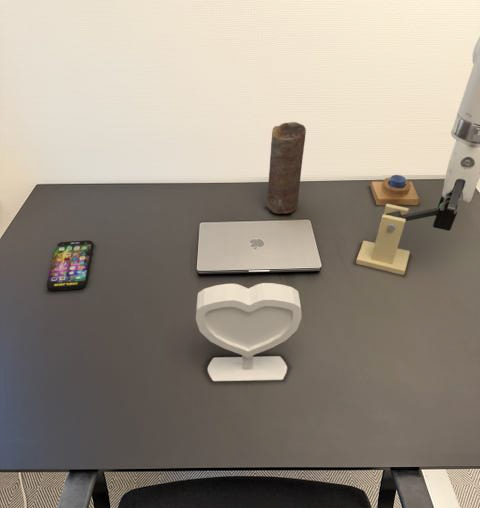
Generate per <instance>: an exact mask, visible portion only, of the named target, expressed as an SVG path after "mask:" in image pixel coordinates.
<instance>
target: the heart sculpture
mask: <svg viewBox="0 0 480 508" xmlns="http://www.w3.org/2000/svg"><path fill="white" fill-rule="evenodd" d="M195 307H196V308H195V321H196V324H197V328H198V331H199V332H200V334H202V335H203V336H204V337H205V338H206V339H207V340H208V341H209V342H210V343H212V344H214V345H217V346H218V347H220V348H222V349H224V350H227V351H230V352H232V353H235V354H238V355H241V356H227V357H226V356H224V357H213V358H212V359H211V361H209V364H208V366H207V373H208V375H209V377H210V378H211V380H212V381H213V382H234V381H235V382H237V381H238V382H239V381H240V382H241V381H283V380H284V378H285V376H286V374H287V373H288V372H287V371H288V366H287V364H286V362H285V360H284V359H283V358H282V357H281V356H280V355H274V356H272V355H270V356H269V355H267V356H255V355H257V354H260V353H263V352H265V351H267V350H271V349H272V348H275V347H276V346H278V345H279V344H282V343H284V342H286V341H287V340H289V338H291V337H292V335H293V334H295V333H296V331H298V329H299V326H300V324H301V321H302V319H303V316H302V315H303V314H302V306H301V300H300V293H299V291H298V290H297V289H295V288H294V287H292V286H289V285H285V284H280V283H274V282H261V283H258V284H255V285H253V286H251V287H249V288H248V287H245V286H243V285H241V284H238V283H224V284H223V283H222V284H217V285H213V286H209V287H205V288H203V289H202V290H200V291H199V292H197V298H196V306H195Z"/></svg>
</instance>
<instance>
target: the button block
mask: <svg viewBox="0 0 480 508" xmlns="http://www.w3.org/2000/svg"><path fill="white" fill-rule="evenodd" d="M390 178H391V176H389V177H386V178H384V179H383V181H371V184H370V190H371V193H372V196H373V198H374V201H375V204H376V206H386V204H391V205H396V206H418V205H419V202H420V197H419V195H418V193H417V191H416V189H415V186H414V184H413V182H412V181H409V180H408V179H406V181H405V185H404V187H403V188H394V187H391V186H390V185H389V182H390Z"/></svg>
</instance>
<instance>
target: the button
mask: <svg viewBox="0 0 480 508" xmlns="http://www.w3.org/2000/svg"><path fill="white" fill-rule="evenodd" d="M390 177H391V178H390V182H389V185H390V186H391V187H394V188H403V187H404V185H405V181H406V180H407V179H406V177H405V176H403V175H401V174H393V175H391V176H390Z"/></svg>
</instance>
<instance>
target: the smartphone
mask: <svg viewBox="0 0 480 508" xmlns="http://www.w3.org/2000/svg"><path fill="white" fill-rule="evenodd" d="M93 249H94V243H93V241H92V240H71V241H61V242H59V243H57V245H56V247H55V251H54V255H53V257H52V258H53V259H52V262H51V266H50V269H49V274H48V277H47V281H46V288H47V290H48V291H51V292H57V291H70V290H82V289H84V288H85V287H86V286H87V282H88V278H89V272H90V271H89V270H90V267H91V266H90V265H91V260H92V254H93Z"/></svg>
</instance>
